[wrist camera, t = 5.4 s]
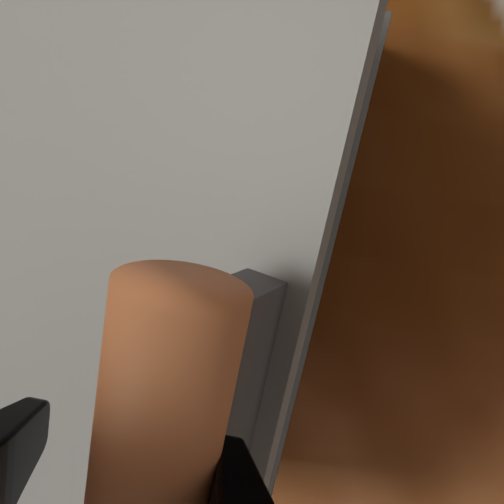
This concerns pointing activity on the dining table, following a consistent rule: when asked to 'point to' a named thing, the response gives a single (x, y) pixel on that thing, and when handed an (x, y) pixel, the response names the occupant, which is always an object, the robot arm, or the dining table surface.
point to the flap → (167, 226)
